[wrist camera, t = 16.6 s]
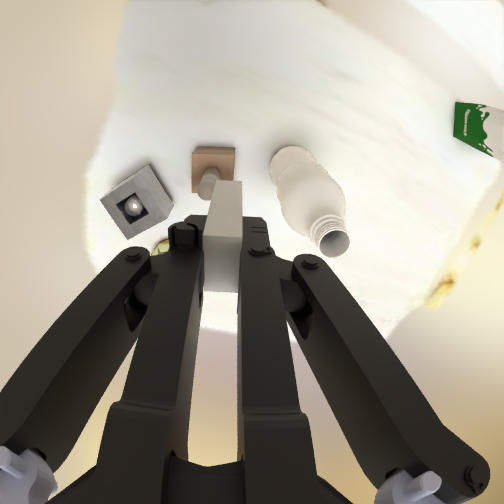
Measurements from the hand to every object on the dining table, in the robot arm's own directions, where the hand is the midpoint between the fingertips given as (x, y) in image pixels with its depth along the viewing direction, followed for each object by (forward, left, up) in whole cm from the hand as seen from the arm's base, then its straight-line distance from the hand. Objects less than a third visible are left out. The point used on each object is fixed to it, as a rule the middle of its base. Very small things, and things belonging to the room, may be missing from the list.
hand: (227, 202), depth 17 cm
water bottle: (+5, +9, -30) cm, 31 cm away
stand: (+6, -3, -29) cm, 30 cm away
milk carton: (-10, +43, -30) cm, 53 cm away
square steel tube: (+11, -15, -27) cm, 33 cm away
